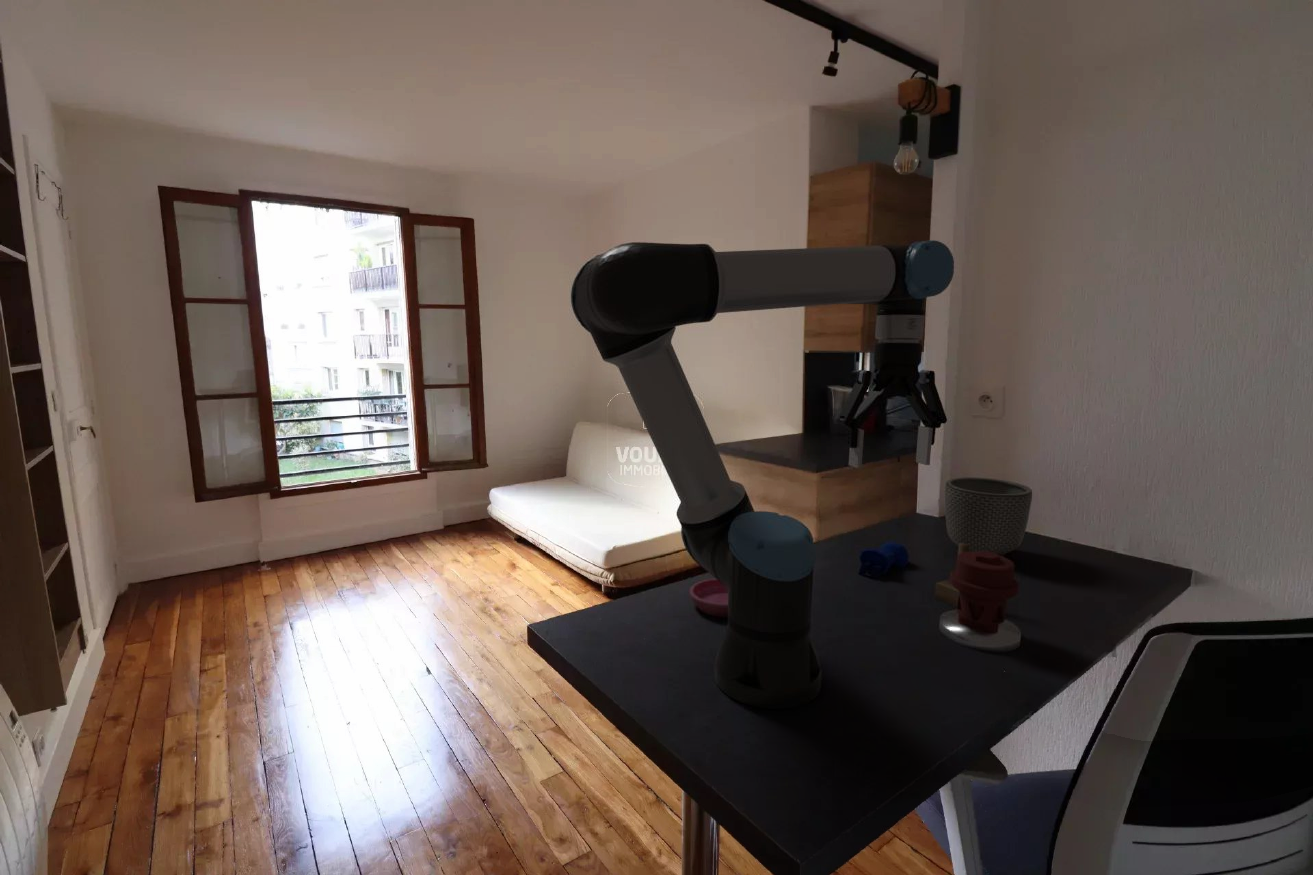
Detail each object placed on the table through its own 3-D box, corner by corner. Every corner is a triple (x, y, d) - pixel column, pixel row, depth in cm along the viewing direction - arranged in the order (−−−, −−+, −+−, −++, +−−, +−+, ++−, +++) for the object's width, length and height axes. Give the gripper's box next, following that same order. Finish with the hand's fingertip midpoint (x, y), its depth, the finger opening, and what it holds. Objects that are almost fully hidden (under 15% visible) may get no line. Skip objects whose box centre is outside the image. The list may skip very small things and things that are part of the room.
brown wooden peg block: (963, 609, 111) (968, 552, 109) (934, 597, 116) (939, 542, 115) (984, 603, 114) (989, 546, 112) (955, 591, 119) (960, 537, 117)
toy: (884, 585, 124) (914, 563, 135) (885, 556, 123) (915, 536, 133) (853, 576, 129) (884, 555, 139) (854, 548, 128) (885, 529, 138)
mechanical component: (978, 607, 108) (1028, 633, 99) (933, 615, 105) (980, 642, 96) (984, 541, 106) (1036, 560, 97) (938, 547, 103) (987, 568, 94)
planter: (1042, 567, 132) (1050, 495, 129) (962, 567, 132) (968, 495, 129) (999, 541, 149) (1005, 477, 146) (928, 541, 149) (932, 476, 146)
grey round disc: (973, 655, 95) (974, 646, 95) (923, 621, 107) (924, 613, 106) (1038, 646, 98) (1039, 638, 98) (982, 614, 109) (983, 606, 109)
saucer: (679, 597, 117) (679, 581, 116) (738, 588, 121) (739, 573, 120) (705, 626, 105) (705, 608, 105) (769, 615, 109) (770, 599, 109)
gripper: (845, 340, 96) (837, 472, 100) (976, 342, 103) (965, 466, 106) (820, 340, 103) (814, 463, 107) (944, 342, 110) (934, 458, 113)
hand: (889, 465), depth 106 cm, fingers open, 13 cm apart
